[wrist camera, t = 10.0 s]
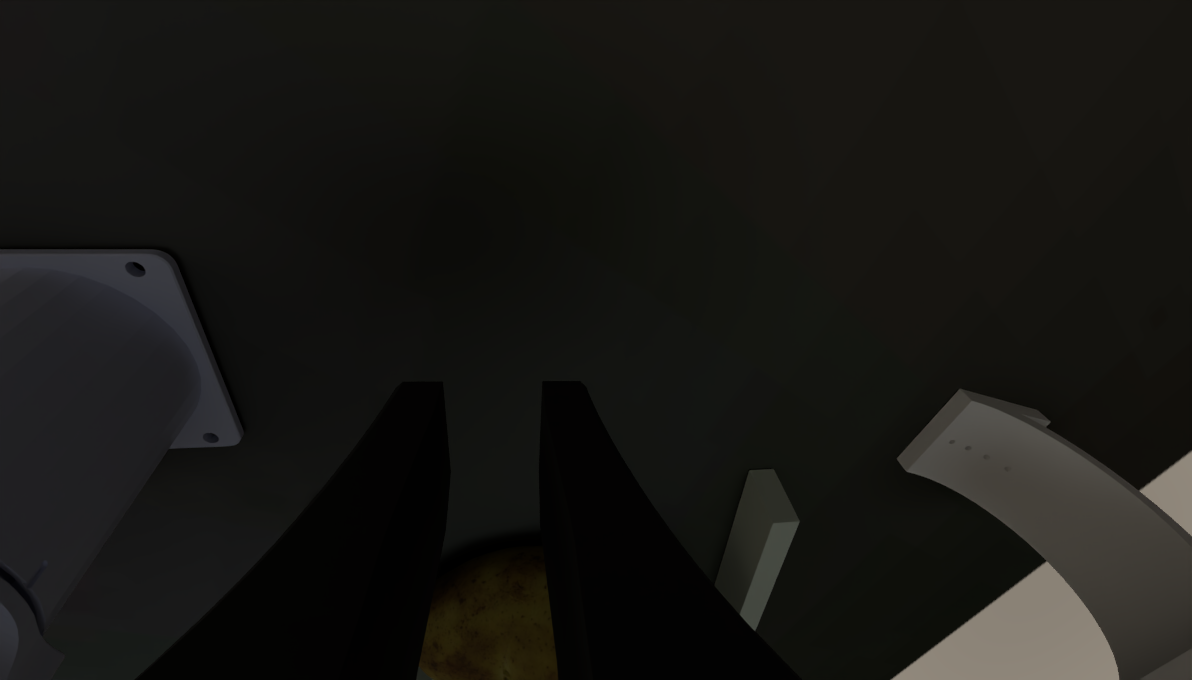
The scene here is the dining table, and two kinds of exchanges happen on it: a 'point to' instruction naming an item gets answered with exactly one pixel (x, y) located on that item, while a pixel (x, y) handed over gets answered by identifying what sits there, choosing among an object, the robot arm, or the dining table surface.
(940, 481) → the headphone stand
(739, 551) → the grey u-shaped bar
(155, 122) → the dining table surface
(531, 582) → the potato
